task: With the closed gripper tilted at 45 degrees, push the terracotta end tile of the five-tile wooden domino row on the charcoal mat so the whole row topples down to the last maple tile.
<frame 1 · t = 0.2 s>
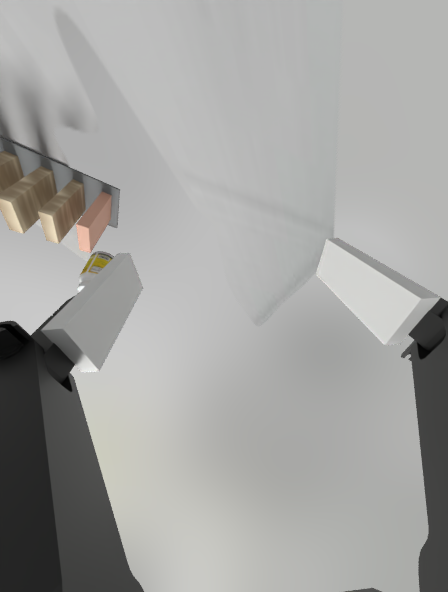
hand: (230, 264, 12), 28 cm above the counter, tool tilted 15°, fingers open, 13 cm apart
mat: (51, 183, 33), on the counter
domino 3: (50, 184, 32), resting on mat
domino 2: (79, 195, 34), resting on mat
domino 4: (17, 171, 31), resting on mat
domino 1: (106, 206, 36), resting on mat
pill bottle: (106, 259, 48), on the counter
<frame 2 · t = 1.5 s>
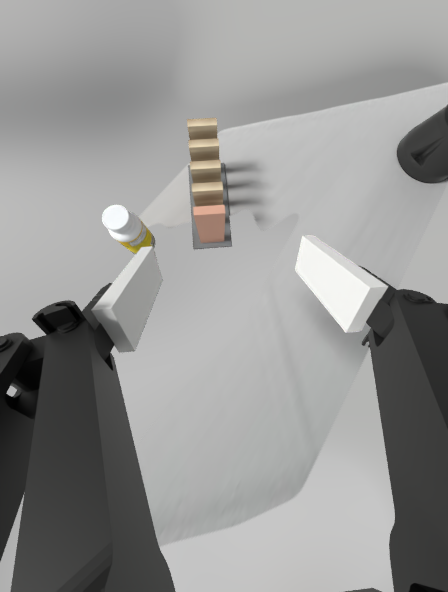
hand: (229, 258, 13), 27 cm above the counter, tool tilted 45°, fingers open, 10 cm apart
mat: (209, 205, 43), on the counter
domino 3: (209, 204, 43), resting on mat
domino 2: (210, 221, 42), resting on mat
domino 4: (208, 187, 44), resting on mat
domino 5: (206, 171, 44), resting on mat
domino 1: (212, 239, 42), resting on mat
pill bottle: (143, 244, 42), on the counter
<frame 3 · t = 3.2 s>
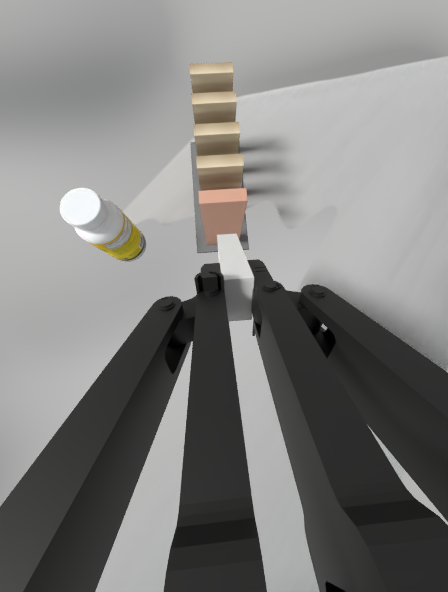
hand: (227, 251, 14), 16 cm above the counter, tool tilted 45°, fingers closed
mat: (218, 194, 33), on the counter
domino 3: (218, 193, 32), resting on mat
domino 2: (220, 215, 32), resting on mat
domino 4: (216, 171, 33), resting on mat
domino 5: (214, 150, 34), resting on mat
domino 1: (222, 239, 31), resting on mat
pill bottle: (130, 246, 31), on the counter
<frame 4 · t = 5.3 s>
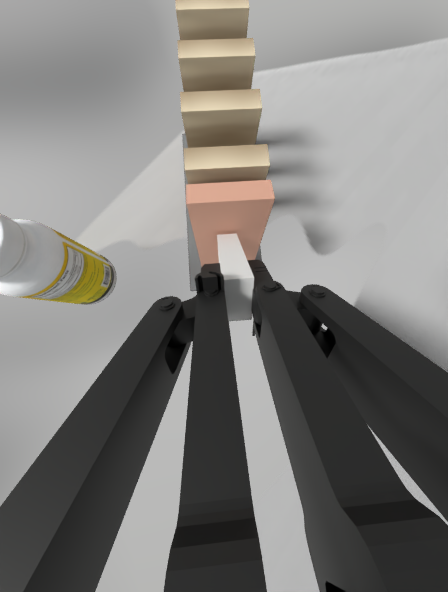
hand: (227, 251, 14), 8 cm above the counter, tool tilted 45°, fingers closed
mat: (220, 206, 23), on the counter
domino 3: (220, 204, 23), resting on mat
domino 2: (223, 236, 22), resting on mat
domino 4: (218, 173, 24), resting on mat
domino 5: (215, 144, 24), resting on mat
domino 1: (226, 271, 22), resting on mat, tilted 11°
pill bottle: (94, 280, 22), on the counter
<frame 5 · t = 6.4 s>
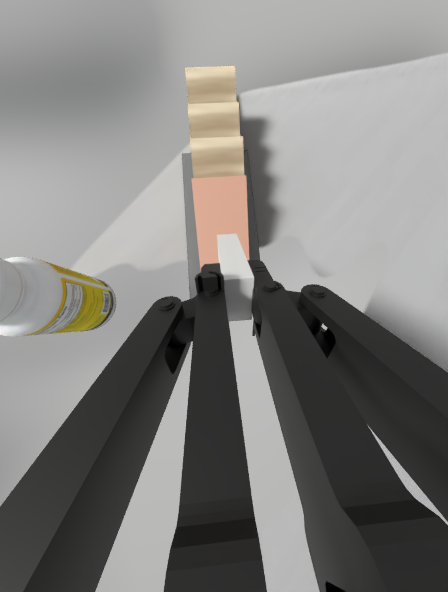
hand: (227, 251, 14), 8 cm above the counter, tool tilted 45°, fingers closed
mat: (221, 227, 23), on the counter
domino 3: (220, 215, 22), point 1 cm above the counter, tilted 69°, touching domino 2, domino 4, mat
domino 2: (223, 247, 22), point 1 cm above the counter, tilted 69°, touching domino 1, domino 3
domino 4: (217, 181, 23), point 1 cm above the counter, tilted 69°, touching domino 3, domino 5
domino 1: (225, 284, 21), point 1 cm above the counter, tilted 69°, touching domino 2, mat
pill bottle: (93, 305, 22), on the counter
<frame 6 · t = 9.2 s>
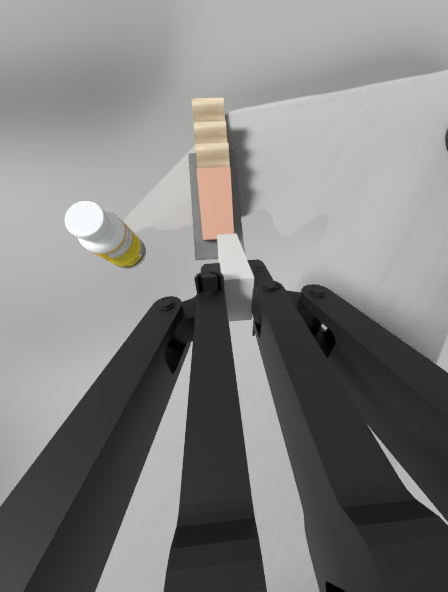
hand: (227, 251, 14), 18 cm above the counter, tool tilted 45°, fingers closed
mat: (215, 203, 34), on the counter
domino 3: (214, 194, 33), point 1 cm above the counter, tilted 69°, touching domino 2, domino 4, mat
domino 2: (216, 215, 32), point 1 cm above the counter, tilted 69°, touching domino 1, domino 3
domino 4: (212, 172, 34), point 1 cm above the counter, tilted 69°, touching domino 3, domino 5
domino 1: (218, 239, 32), point 1 cm above the counter, tilted 69°, touching domino 2, mat
pill bottle: (130, 253, 32), on the counter
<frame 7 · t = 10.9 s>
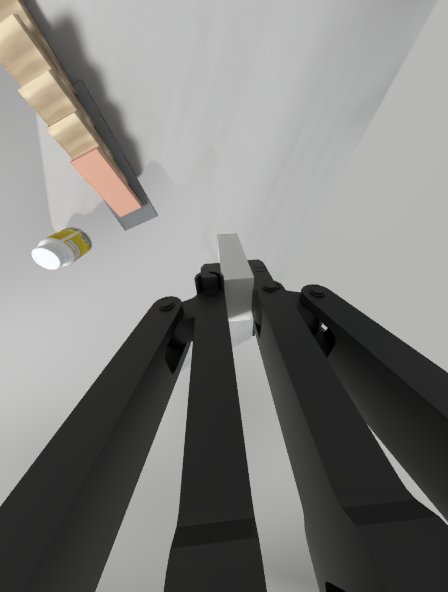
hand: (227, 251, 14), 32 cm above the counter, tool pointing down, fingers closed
mat: (108, 170, 36), on the counter
domino 3: (101, 163, 34), point 1 cm above the counter, tilted 69°, touching domino 2, domino 4, mat
domino 2: (116, 188, 37), point 1 cm above the counter, tilted 69°, touching domino 1, domino 3
domino 4: (81, 133, 32), point 1 cm above the counter, tilted 69°, touching domino 3, domino 5
domino 5: (60, 99, 29), point 1 cm above the counter, tilted 92°, touching domino 4, mat
domino 1: (130, 210, 40), point 1 cm above the counter, tilted 69°, touching domino 2, mat
pill bottle: (79, 239, 44), on the counter
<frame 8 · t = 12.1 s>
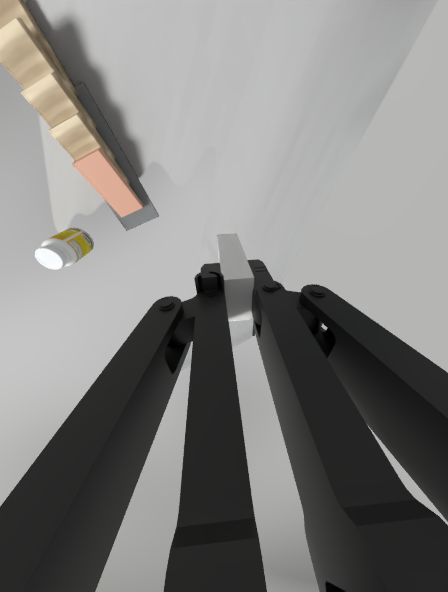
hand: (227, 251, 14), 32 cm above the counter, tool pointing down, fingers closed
mat: (109, 171, 36), on the counter
domino 3: (103, 164, 35), point 1 cm above the counter, tilted 69°, touching domino 2, domino 4, mat
domino 2: (118, 188, 37), point 1 cm above the counter, tilted 69°, touching domino 1, domino 3
domino 4: (83, 134, 32), point 1 cm above the counter, tilted 69°, touching domino 3, domino 5
domino 5: (62, 101, 29), point 1 cm above the counter, tilted 92°, touching domino 4, mat
domino 1: (132, 210, 40), point 1 cm above the counter, tilted 69°, touching domino 2, mat
pill bottle: (81, 239, 44), on the counter
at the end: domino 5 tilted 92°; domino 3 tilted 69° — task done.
